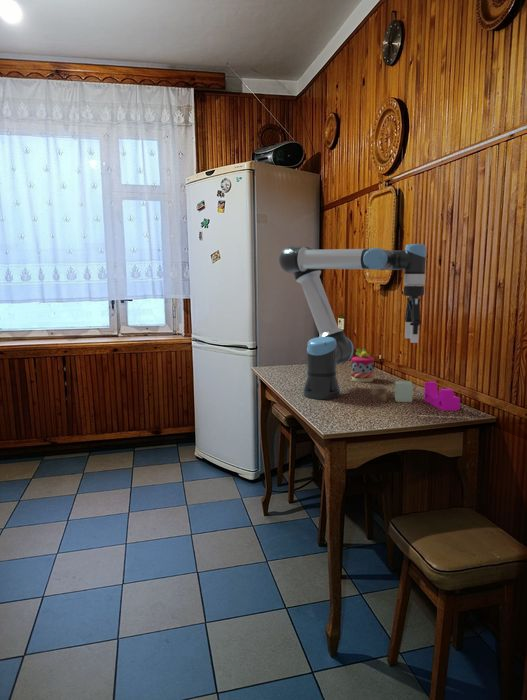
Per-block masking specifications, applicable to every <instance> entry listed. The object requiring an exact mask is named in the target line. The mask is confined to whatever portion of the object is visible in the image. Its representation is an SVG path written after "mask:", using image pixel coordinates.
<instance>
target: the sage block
mask: <svg viewBox="0 0 527 700" xmlns="http://www.w3.org/2000/svg"><path fill="white" fill-rule="evenodd" d="M413 387H414V384H413V382H412V381H410V380H394V400H395V402H399V403H400V402H401V403H413Z"/></svg>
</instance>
